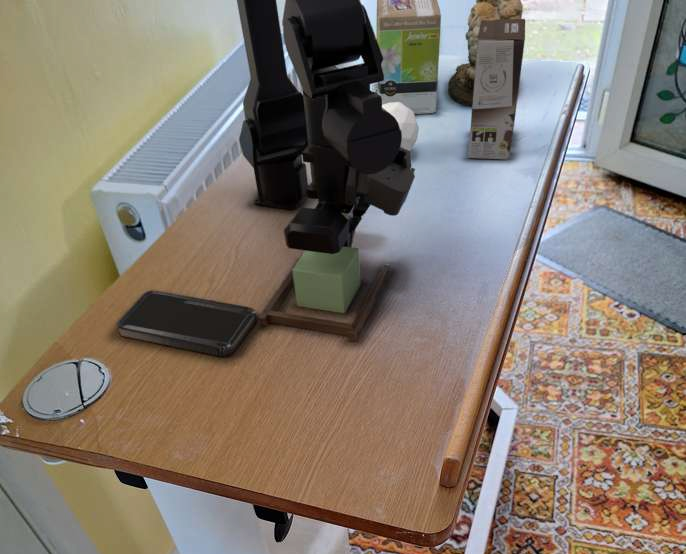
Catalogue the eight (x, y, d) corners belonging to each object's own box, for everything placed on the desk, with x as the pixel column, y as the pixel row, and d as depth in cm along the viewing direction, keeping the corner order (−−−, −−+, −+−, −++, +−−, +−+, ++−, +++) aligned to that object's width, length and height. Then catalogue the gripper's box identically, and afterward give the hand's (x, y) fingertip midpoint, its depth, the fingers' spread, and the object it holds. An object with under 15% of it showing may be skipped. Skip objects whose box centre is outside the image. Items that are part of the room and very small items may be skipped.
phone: (227, 350, 73) (112, 326, 77) (229, 358, 74) (115, 334, 78) (258, 308, 78) (148, 288, 82) (260, 316, 78) (151, 295, 83)
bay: (259, 325, 77) (258, 317, 77) (303, 261, 86) (302, 253, 85) (354, 342, 74) (354, 333, 73) (390, 273, 83) (390, 264, 82)
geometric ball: (406, 171, 106) (437, 133, 100) (368, 169, 101) (399, 129, 95) (386, 132, 107) (416, 92, 101) (348, 128, 103) (377, 86, 96)
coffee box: (510, 160, 100) (525, 39, 88) (467, 159, 102) (476, 39, 90) (512, 134, 106) (527, 17, 94) (471, 133, 108) (480, 17, 95)
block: (297, 306, 79) (291, 269, 76) (314, 278, 83) (310, 241, 79) (344, 313, 78) (341, 276, 74) (360, 284, 82) (358, 248, 78)
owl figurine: (451, 68, 126) (457, -42, 114) (515, 68, 124) (529, -44, 112) (444, 107, 115) (450, -11, 102) (515, 108, 113) (530, -12, 100)
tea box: (438, 113, 113) (442, 12, 102) (378, 117, 114) (376, 17, 103) (431, 80, 123) (434, -15, 112) (377, 84, 124) (374, -11, 113)
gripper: (380, 184, 64) (384, 318, 75) (429, 105, 75) (425, 232, 87) (273, 173, 66) (292, 304, 78) (336, 98, 78) (344, 222, 89)
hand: (343, 263), depth 83 cm, fingers closed
